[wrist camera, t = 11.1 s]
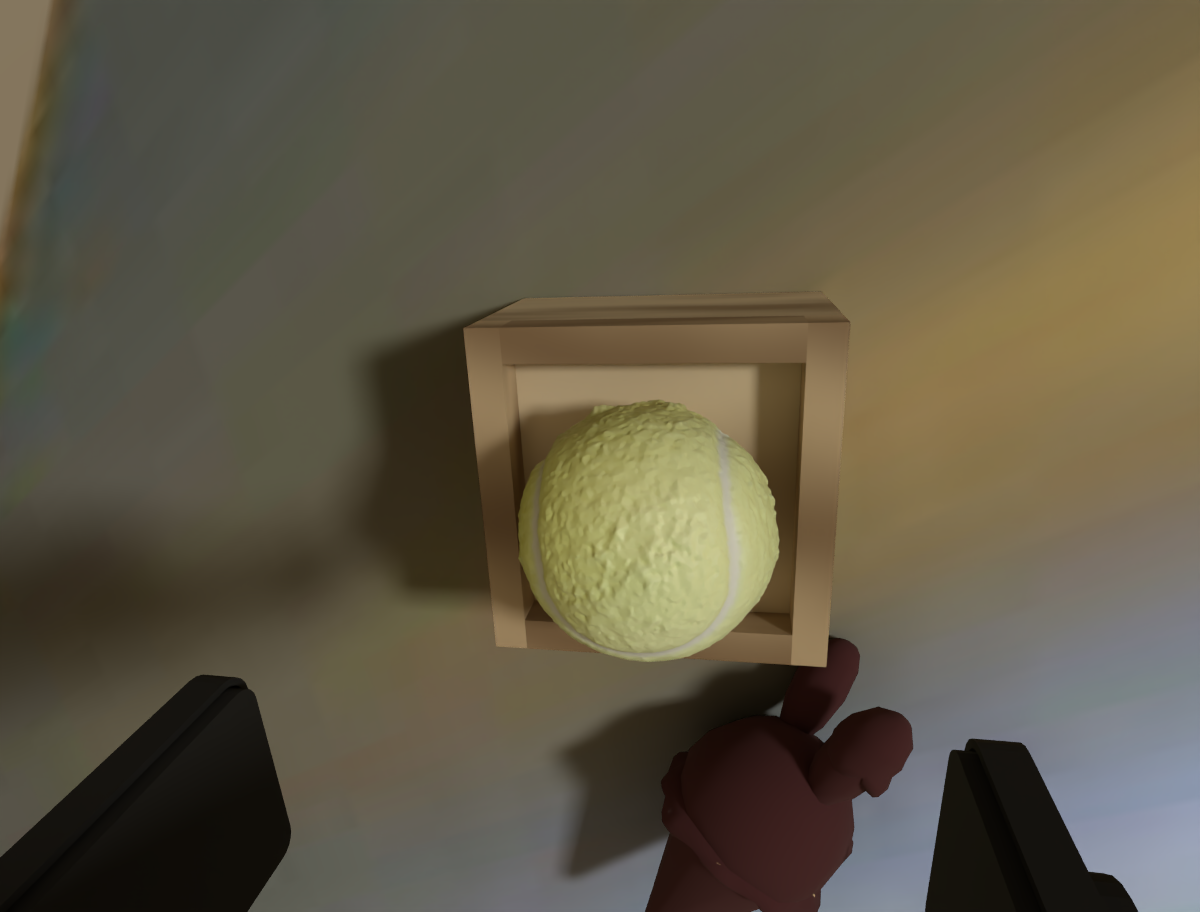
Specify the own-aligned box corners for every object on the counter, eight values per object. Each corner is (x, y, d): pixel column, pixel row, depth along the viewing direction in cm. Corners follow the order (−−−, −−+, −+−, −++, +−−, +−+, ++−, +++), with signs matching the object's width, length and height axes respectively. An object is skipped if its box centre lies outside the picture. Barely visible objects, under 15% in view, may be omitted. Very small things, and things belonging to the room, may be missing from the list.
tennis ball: (520, 731, 17) (813, 692, 15) (437, 457, 16) (739, 382, 14) (585, 618, 23) (799, 581, 21) (528, 415, 22) (746, 359, 20)
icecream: (738, 1063, 27) (1012, 794, 23) (567, 1016, 25) (834, 710, 21) (698, 889, 34) (906, 654, 29) (559, 840, 32) (762, 579, 27)
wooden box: (524, 298, 25) (463, 328, 20) (821, 291, 24) (850, 322, 18) (543, 556, 29) (496, 646, 23) (806, 566, 27) (826, 667, 21)
